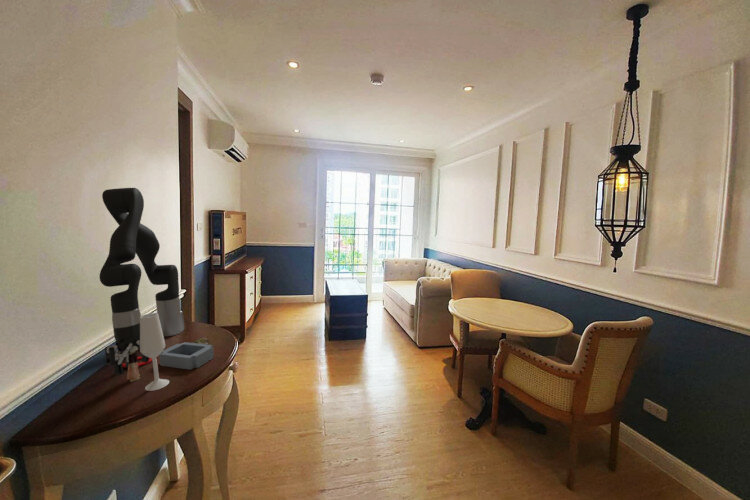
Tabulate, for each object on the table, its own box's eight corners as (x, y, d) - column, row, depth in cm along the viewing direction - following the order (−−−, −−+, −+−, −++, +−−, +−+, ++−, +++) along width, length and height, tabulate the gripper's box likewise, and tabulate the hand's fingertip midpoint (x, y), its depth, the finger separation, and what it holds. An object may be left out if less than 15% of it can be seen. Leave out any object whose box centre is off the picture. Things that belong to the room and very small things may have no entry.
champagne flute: (139, 390, 98) (130, 318, 95) (157, 378, 104) (149, 312, 101) (157, 391, 97) (149, 319, 94) (174, 379, 103) (166, 312, 100)
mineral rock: (190, 338, 133) (209, 332, 134) (194, 347, 134) (213, 340, 135) (181, 350, 123) (201, 342, 124) (185, 359, 124) (205, 352, 125)
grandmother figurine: (126, 377, 106) (121, 342, 104) (140, 372, 109) (135, 339, 107) (129, 385, 101) (124, 349, 99) (143, 381, 103) (139, 345, 102)
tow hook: (141, 357, 122) (118, 368, 113) (138, 326, 121) (115, 334, 112) (159, 358, 120) (137, 369, 111) (157, 327, 119) (135, 335, 110)
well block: (182, 352, 125) (181, 341, 124) (216, 356, 120) (215, 345, 120) (157, 365, 114) (156, 353, 114) (193, 370, 110) (192, 358, 109)
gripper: (140, 315, 110) (145, 357, 112) (95, 329, 96) (102, 377, 98) (156, 316, 108) (161, 359, 110) (112, 331, 94) (119, 380, 96)
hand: (133, 367), depth 104 cm, fingers open, 8 cm apart
